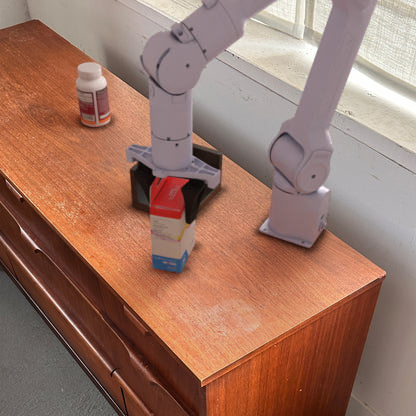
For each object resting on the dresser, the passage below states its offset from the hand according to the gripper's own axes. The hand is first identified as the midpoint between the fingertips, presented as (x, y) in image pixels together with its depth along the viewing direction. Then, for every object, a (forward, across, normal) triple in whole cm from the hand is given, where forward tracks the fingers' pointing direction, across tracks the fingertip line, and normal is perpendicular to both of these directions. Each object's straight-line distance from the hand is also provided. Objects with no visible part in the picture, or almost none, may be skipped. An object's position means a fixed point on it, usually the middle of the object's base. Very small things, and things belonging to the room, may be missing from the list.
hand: (173, 214), depth 96 cm
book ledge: (+8, -8, +15) cm, 19 cm away
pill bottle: (+8, -37, +31) cm, 49 cm away
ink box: (+8, 0, 0) cm, 8 cm away
